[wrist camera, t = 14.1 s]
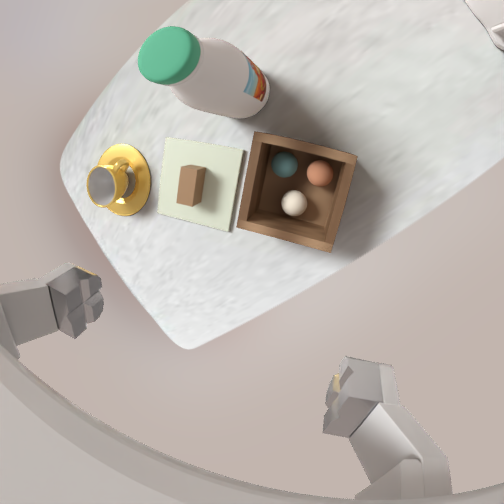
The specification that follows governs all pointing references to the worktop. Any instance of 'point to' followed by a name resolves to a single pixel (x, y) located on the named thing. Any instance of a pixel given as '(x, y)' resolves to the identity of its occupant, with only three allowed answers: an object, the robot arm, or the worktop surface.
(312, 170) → the ball
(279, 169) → the ball
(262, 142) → the box
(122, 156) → the cup
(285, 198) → the ball
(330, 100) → the worktop surface
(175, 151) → the lid
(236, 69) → the milk bottle
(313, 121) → the worktop surface
